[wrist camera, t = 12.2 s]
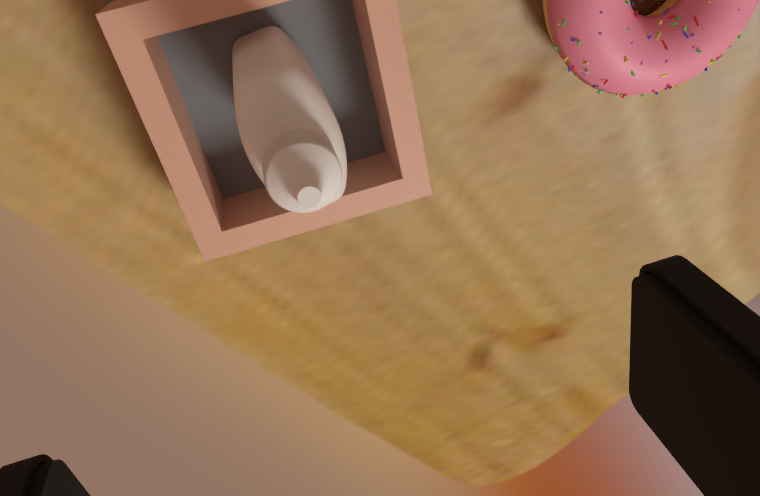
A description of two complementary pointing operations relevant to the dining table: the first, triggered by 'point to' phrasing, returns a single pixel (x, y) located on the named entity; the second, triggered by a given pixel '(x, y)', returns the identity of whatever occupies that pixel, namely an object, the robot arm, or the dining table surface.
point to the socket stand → (218, 119)
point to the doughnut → (642, 40)
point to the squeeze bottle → (287, 122)
